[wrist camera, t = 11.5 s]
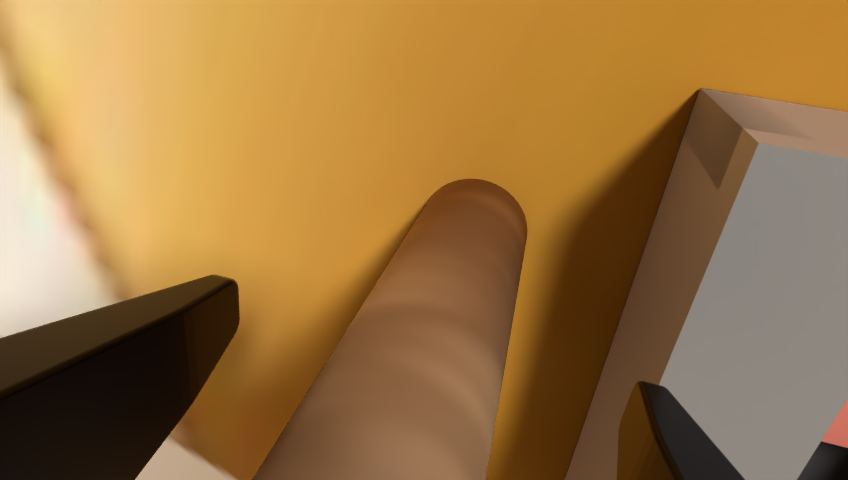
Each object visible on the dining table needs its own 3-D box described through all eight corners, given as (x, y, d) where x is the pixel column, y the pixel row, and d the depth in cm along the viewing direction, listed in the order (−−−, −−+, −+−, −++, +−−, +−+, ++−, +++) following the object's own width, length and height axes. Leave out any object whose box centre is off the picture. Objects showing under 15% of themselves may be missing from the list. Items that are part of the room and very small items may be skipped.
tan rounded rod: (538, 191, 13) (431, 880, 3) (515, 287, 14) (387, 999, 4) (428, 169, 13) (27, 717, 3) (415, 264, 14) (91, 867, 5)
